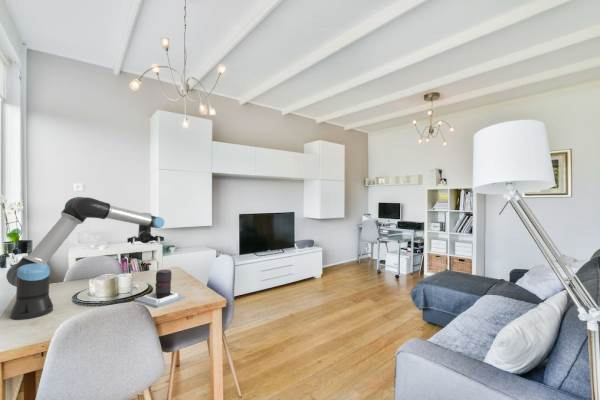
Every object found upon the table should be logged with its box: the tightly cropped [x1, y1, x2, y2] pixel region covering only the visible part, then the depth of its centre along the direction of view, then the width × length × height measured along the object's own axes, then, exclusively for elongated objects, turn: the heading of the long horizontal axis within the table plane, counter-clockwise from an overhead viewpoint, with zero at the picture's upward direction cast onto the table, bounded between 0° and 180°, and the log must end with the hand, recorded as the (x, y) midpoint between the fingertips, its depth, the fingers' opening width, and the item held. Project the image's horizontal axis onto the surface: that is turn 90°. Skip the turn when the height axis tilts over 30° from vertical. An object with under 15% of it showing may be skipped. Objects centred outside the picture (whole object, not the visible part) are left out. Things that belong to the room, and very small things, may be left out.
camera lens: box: [154, 269, 173, 299], centre depth 163 cm, size 8×8×15 cm
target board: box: [134, 291, 186, 309], centre depth 162 cm, size 20×18×3 cm
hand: (146, 241), depth 171 cm, fingers open, 13 cm apart
